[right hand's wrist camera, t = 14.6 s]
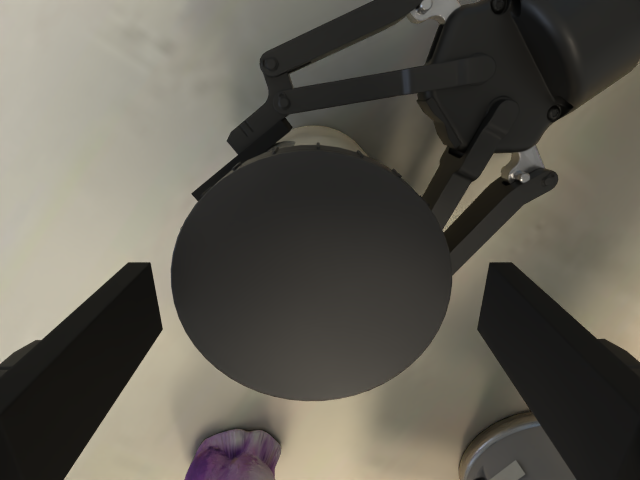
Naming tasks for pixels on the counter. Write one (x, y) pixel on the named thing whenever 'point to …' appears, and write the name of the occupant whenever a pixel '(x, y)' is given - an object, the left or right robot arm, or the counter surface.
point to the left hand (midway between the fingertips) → (258, 254)
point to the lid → (311, 273)
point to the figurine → (236, 457)
